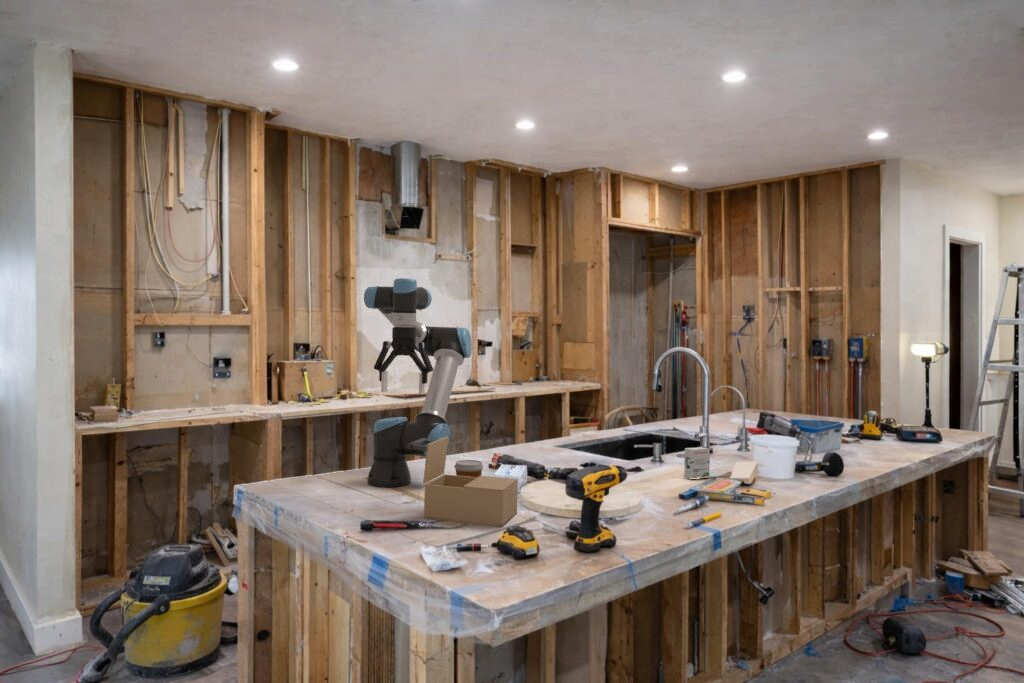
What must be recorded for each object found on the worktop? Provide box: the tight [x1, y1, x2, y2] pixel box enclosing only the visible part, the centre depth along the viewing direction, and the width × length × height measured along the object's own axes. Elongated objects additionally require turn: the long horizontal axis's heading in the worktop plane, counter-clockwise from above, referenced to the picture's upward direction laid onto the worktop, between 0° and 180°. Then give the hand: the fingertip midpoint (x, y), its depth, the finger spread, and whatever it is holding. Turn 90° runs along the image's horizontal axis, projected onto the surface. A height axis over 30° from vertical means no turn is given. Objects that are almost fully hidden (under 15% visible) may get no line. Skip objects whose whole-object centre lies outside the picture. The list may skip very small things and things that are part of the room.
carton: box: [423, 473, 519, 528], centre depth 204 cm, size 15×24×11 cm, turn 74°
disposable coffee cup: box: [454, 459, 484, 477], centre depth 224 cm, size 10×10×12 cm
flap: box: [407, 437, 449, 484], centre depth 208 cm, size 15×12×8 cm
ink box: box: [683, 446, 711, 479], centre depth 264 cm, size 9×5×12 cm, turn 112°
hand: (402, 392), depth 221 cm, fingers open, 12 cm apart
